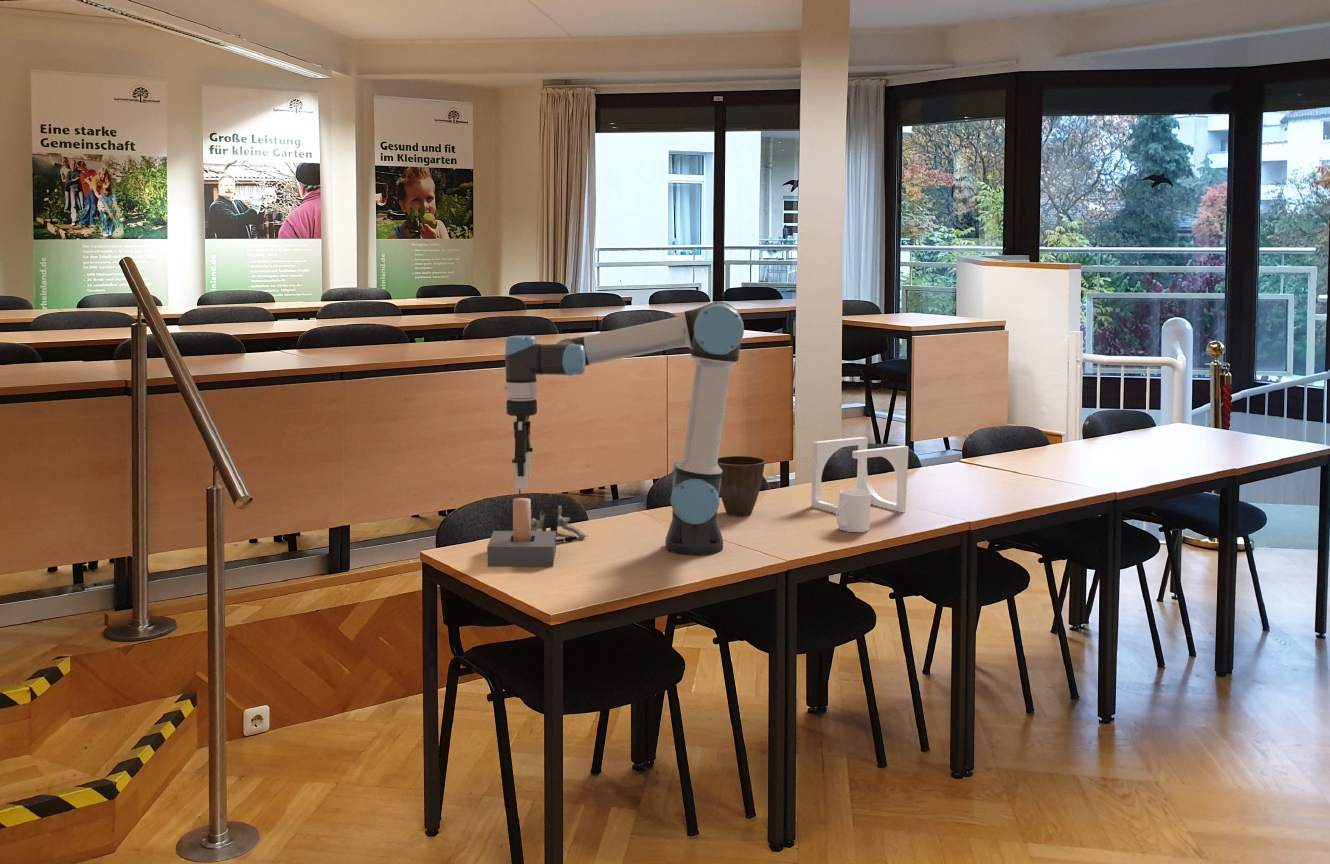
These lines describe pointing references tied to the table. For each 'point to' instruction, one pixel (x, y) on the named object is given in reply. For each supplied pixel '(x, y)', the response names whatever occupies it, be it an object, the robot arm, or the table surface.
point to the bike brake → (556, 525)
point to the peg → (522, 520)
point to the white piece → (860, 470)
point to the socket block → (521, 550)
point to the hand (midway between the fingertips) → (523, 483)
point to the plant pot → (740, 483)
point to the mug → (854, 510)
